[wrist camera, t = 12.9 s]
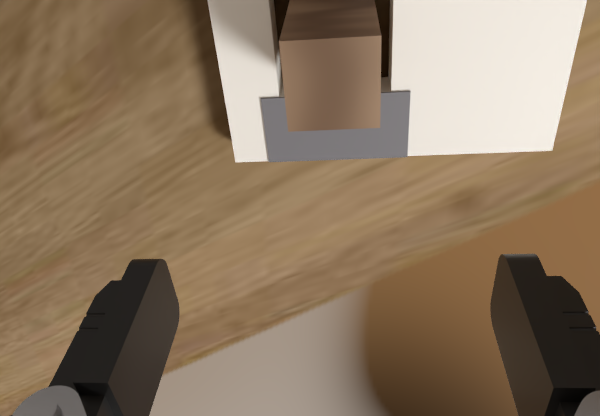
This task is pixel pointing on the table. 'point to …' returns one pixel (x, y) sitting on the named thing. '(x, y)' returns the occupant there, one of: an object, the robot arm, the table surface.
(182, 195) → the table surface
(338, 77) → the brown wooden block
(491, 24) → the subfloor panel
